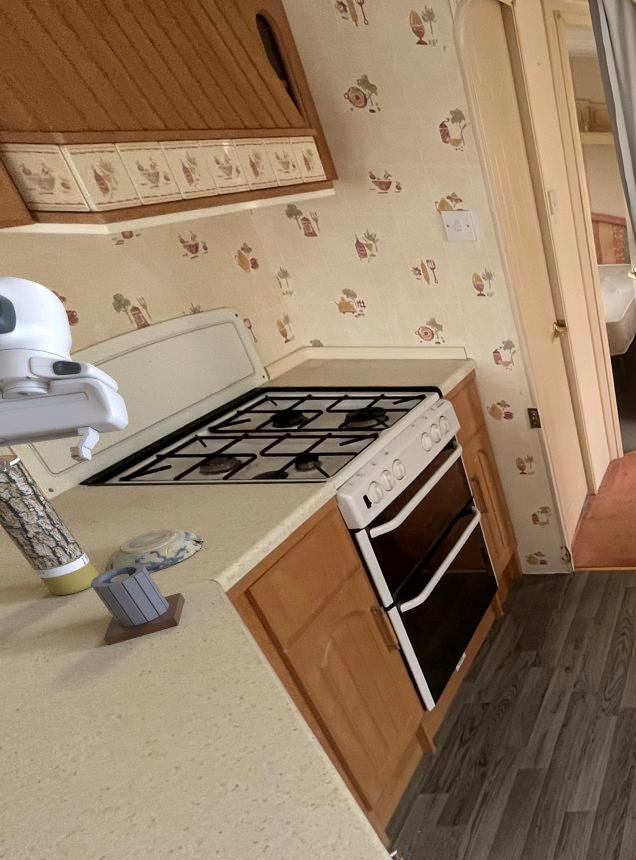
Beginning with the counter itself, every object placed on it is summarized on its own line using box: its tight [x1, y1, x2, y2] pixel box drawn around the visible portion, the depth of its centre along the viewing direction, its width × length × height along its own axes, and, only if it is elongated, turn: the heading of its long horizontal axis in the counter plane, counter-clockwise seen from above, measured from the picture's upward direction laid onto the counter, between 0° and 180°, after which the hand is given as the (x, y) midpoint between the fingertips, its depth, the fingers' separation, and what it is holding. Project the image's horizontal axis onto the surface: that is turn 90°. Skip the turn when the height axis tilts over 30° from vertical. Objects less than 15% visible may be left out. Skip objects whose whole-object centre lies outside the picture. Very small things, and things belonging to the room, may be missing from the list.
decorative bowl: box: [105, 528, 204, 574], centre depth 132 cm, size 15×4×15 cm
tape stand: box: [103, 574, 186, 646], centre depth 112 cm, size 9×9×9 cm
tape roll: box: [91, 564, 169, 626], centre depth 112 cm, size 7×7×8 cm
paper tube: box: [0, 454, 100, 596], centre depth 118 cm, size 7×7×25 cm
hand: (41, 465), depth 99 cm, fingers open, 8 cm apart
